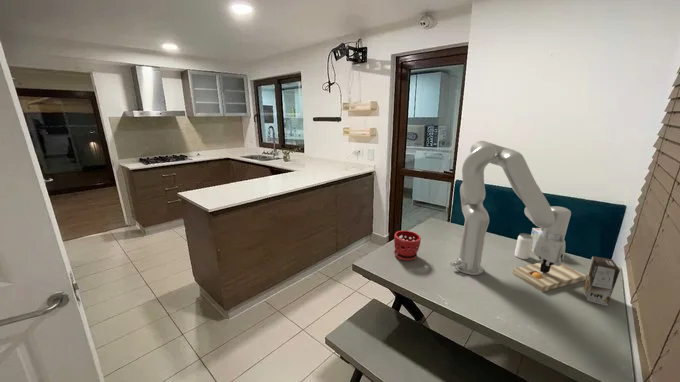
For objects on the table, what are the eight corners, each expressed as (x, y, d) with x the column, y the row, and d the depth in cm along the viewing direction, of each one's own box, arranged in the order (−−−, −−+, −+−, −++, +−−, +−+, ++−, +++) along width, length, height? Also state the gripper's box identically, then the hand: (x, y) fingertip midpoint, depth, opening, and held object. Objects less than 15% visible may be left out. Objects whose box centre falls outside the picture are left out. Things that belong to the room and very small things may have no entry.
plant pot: (408, 265, 132) (410, 244, 128) (388, 255, 142) (389, 234, 138) (424, 257, 140) (426, 236, 136) (403, 247, 149) (405, 227, 146)
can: (532, 259, 137) (537, 238, 133) (519, 259, 137) (523, 238, 133) (523, 253, 143) (528, 232, 139) (511, 253, 143) (515, 232, 139)
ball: (536, 277, 118) (543, 273, 118) (529, 272, 121) (536, 269, 121) (537, 283, 119) (544, 280, 119) (530, 279, 122) (537, 275, 122)
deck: (541, 291, 113) (543, 286, 112) (512, 273, 125) (513, 268, 125) (584, 280, 120) (585, 275, 119) (552, 263, 133) (553, 259, 132)
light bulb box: (553, 255, 141) (558, 236, 138) (540, 255, 141) (545, 236, 138) (540, 245, 151) (544, 227, 148) (527, 245, 151) (531, 227, 148)
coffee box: (608, 306, 104) (620, 270, 99) (586, 300, 107) (597, 265, 103) (602, 293, 111) (613, 259, 107) (581, 288, 115) (592, 255, 110)
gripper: (530, 228, 121) (522, 264, 127) (565, 244, 108) (555, 283, 113) (542, 226, 124) (534, 261, 129) (578, 241, 110) (568, 279, 115)
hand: (544, 271), depth 121 cm, fingers closed
